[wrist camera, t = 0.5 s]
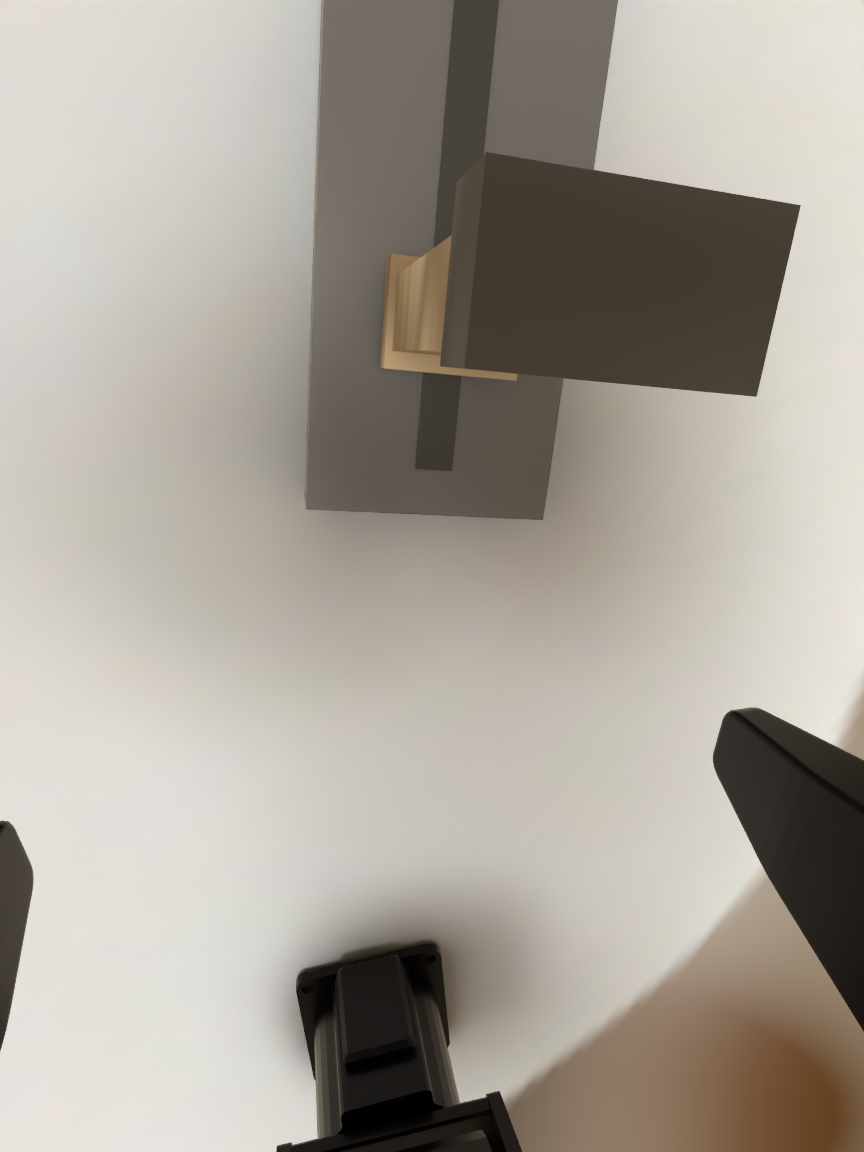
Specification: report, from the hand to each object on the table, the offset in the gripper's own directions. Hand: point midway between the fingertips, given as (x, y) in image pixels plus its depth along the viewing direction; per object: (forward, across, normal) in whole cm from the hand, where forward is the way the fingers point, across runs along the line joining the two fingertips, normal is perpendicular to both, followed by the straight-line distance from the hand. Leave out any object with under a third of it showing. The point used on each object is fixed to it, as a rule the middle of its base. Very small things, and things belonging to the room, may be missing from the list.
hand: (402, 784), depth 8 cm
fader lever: (+15, -4, -3) cm, 15 cm away
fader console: (+17, -4, -6) cm, 19 cm away
